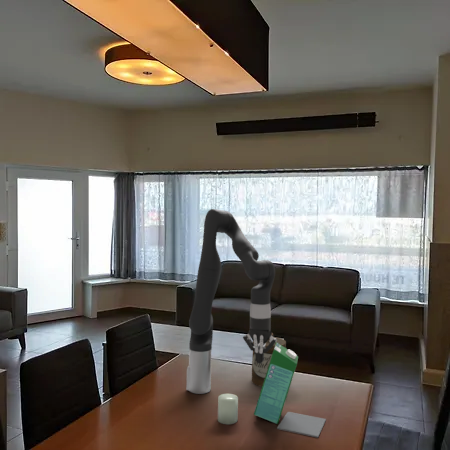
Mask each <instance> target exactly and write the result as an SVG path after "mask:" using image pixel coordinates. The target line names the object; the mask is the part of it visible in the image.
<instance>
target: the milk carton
mask: <svg viewBox="0 0 450 450" xmlns="http://www.w3.org/2000/svg"><path fill="white" fill-rule="evenodd" d="M298 359H299V356H298V354H296V353H295V351H293V350H292V349H287V347H286V348H285V347H283V346H282V345H280V344H279V343H277V342H276V345H275V348H274V350H273V354H272V357H271V360H270V363H269V367H268V370H267V373H266V376H265V379H264V383H263V386H262V387H261V390H260V393H259V396H258V400H257V403H256V405H255V408H254V412H253V415H254V416H256V417H259V418H262V419H264V420H267V421H269V422H271V423H273V424H276V425H279V424H280V423H279V422H280V420H281V416H282V413H283V411H284V410H283V409H284V407H285V403H286V401H287V397H288V394H289V390H290V388H291V385H292V381H293V378H294V375H295V371H296V368H297V366H298Z"/></svg>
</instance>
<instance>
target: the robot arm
mask: <svg viewBox="0 0 450 450" xmlns="http://www.w3.org/2000/svg"><path fill="white" fill-rule="evenodd" d="M203 224H204V225H203V237H202V247H201V252H200V259H199V263H198V269H197V275H196V283H195V296H194V301H193V302H194V303H193V306H192V309H191V310H192V311H191V313H190V316H189V320H188V325H189V326H188V327H189V330H190V336H189V337H190V338H189V347H188V349H189V351H188V352H189V355H188V366H187V367H186V389H185V390H186V391H189V392H190V393H192V394H196V395H198V394H199V395H200V394H201V395H202V394H203V395H204V394H207V393H209V392H210V391H211V385H212V350H213V349H212V348H213V347H212V346H213V332H214V318H213V314H212V311H213V310H212V309H213V307H212V306H213V301H214V298H215V296H216V295H215V294H216V292H217V289H218V286H219V282H220V279H221V272H222V271H221V270H222V260H221V258H220V254H219V252H218V248H217V236H218V235H217V234H218V233H219V234H225V235H227V236H228V237H229V238H230V239H231V247H232V250H233V252H234V254H235V255H236V256H237V257H238V259H239V261H240V262H241V263H242V266H243V269H244V272H245V274H246V276H247V277H248V279H250V280H252V281H259V282H258V284H257V285H254V286H253V287H252V288H251V290H250V308H249V330H248V333H247V334H245V335H244V336H242V339H243V340H244V342H245V344H246V345H247V347H248V348H249V349H250V351H251V352H253V351H255V360H256V361H257V363H260V364H261V363H262V362H263V361H264V353H265V352H268V351H269V350H270V348H271V347H272V346H273V345H274V344H275V343H276V341H277V338H278V337H277V338H274V337H275V336H274V335H273V336H272V333H273V332H272V331H271V328H272V327H271V326H272V325H271V321H272V319H271V318H272V317H271V316H272V309H271V290H272V288H273V284H274V281H275V276H276V266H275V265H274V263H273V262H272V260H268V259H265V260H264V259H263V260H258V259H259V256H260V255H259V252H258V250H257V249H256V248H255V247H254V246H253V244H252V243H251V242H250V241H249V240H248V238H246V235H245V234H244V232H243V231H242V228H241V227H240V226H239V224H238V222H237V220H236V218H235V217H234V215H233V213H231V212H230V211H227V210H222V209H216V208H210V209H209V210H208V211H207V213H206V215H205V218H204V223H203ZM271 332H272V333H271ZM269 338H270V341H269V342H270V344H269V345H268V346H267V347H266V348H265V345H266V342H267V341H268V340H269ZM253 342H254V344H253Z"/></svg>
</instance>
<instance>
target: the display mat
mask: <svg viewBox="0 0 450 450" xmlns="http://www.w3.org/2000/svg"><path fill="white" fill-rule="evenodd" d="M326 421H327V418H323V417H318V416H313V415H307V414H302V413H297V412H292V411H287V412H286V414H285V415H284V417H283V418H282V420H281V421H280V423H278V426H277V427H276V429H277V430H280V431H285V432H289V433H293V434H298V435H303V436H308V437H312V438H316V439H319V436H320V434H321V432H322V430H323V428H324V425H325V423H326Z"/></svg>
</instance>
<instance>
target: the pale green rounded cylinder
mask: <svg viewBox="0 0 450 450" xmlns="http://www.w3.org/2000/svg"><path fill="white" fill-rule="evenodd" d="M217 398H218V399H217V400H218V402H217V404H218V405H217V421H218V423H220V424H223V425H234V424H236V423H237V422H238V415H239V414H238V410H239V408H238V407H239V397H238V396H237V395H236V394H233V393H222V394H220V395H218V397H217Z"/></svg>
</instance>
